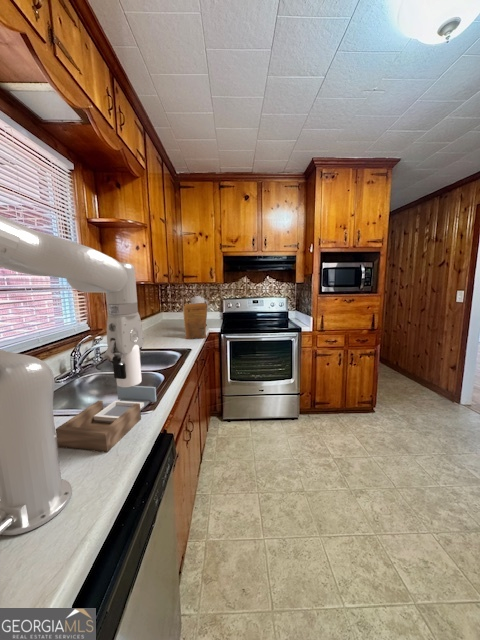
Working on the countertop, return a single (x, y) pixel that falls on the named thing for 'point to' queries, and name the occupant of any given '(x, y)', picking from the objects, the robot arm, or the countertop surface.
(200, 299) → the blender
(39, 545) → the countertop surface
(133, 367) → the can
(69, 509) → the countertop surface
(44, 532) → the countertop surface
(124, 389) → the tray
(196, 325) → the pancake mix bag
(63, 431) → the wooden coaster holder
